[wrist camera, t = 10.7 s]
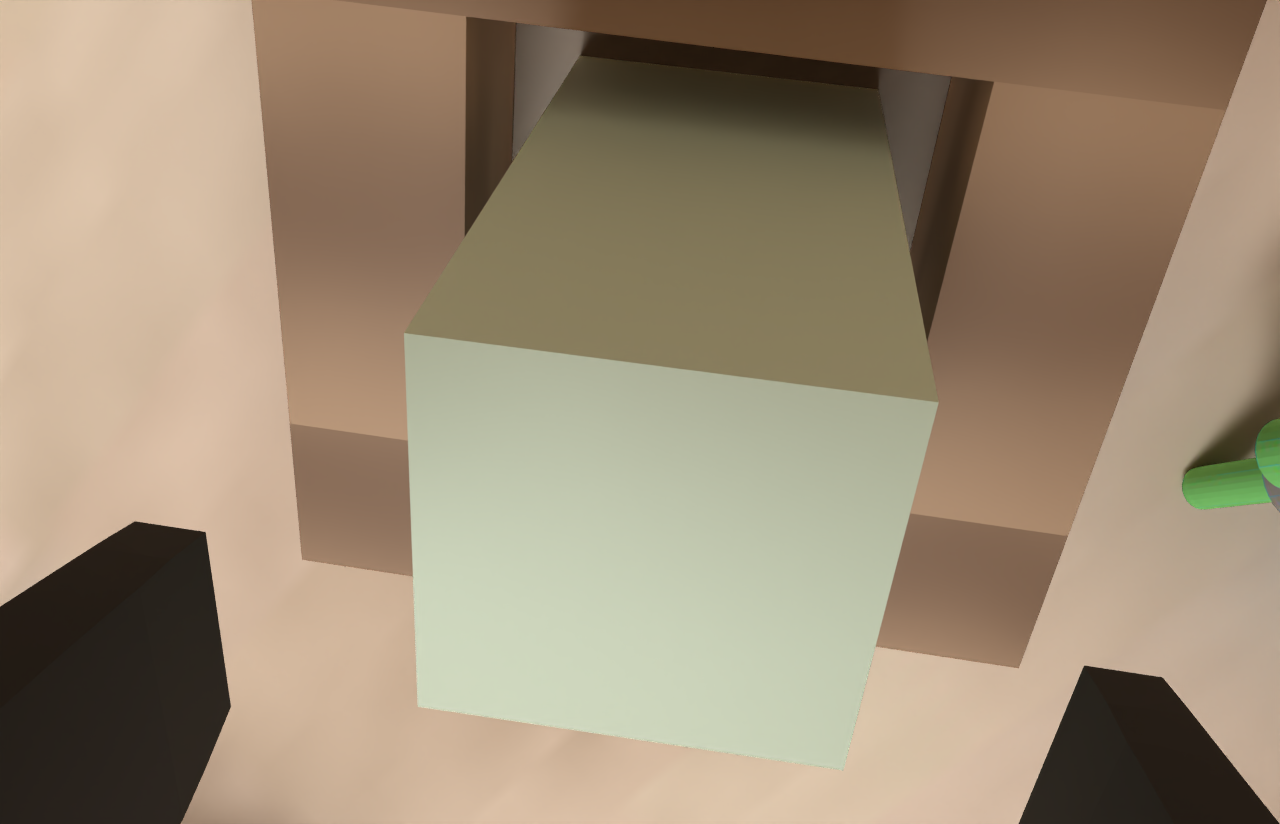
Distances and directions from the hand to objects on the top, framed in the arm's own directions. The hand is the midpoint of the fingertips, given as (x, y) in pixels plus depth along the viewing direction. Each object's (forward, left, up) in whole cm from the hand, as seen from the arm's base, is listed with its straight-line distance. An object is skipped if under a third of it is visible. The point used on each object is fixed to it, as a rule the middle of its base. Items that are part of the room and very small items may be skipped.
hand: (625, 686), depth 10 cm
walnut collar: (0, 0, -10) cm, 10 cm away
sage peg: (0, 0, -10) cm, 10 cm away
